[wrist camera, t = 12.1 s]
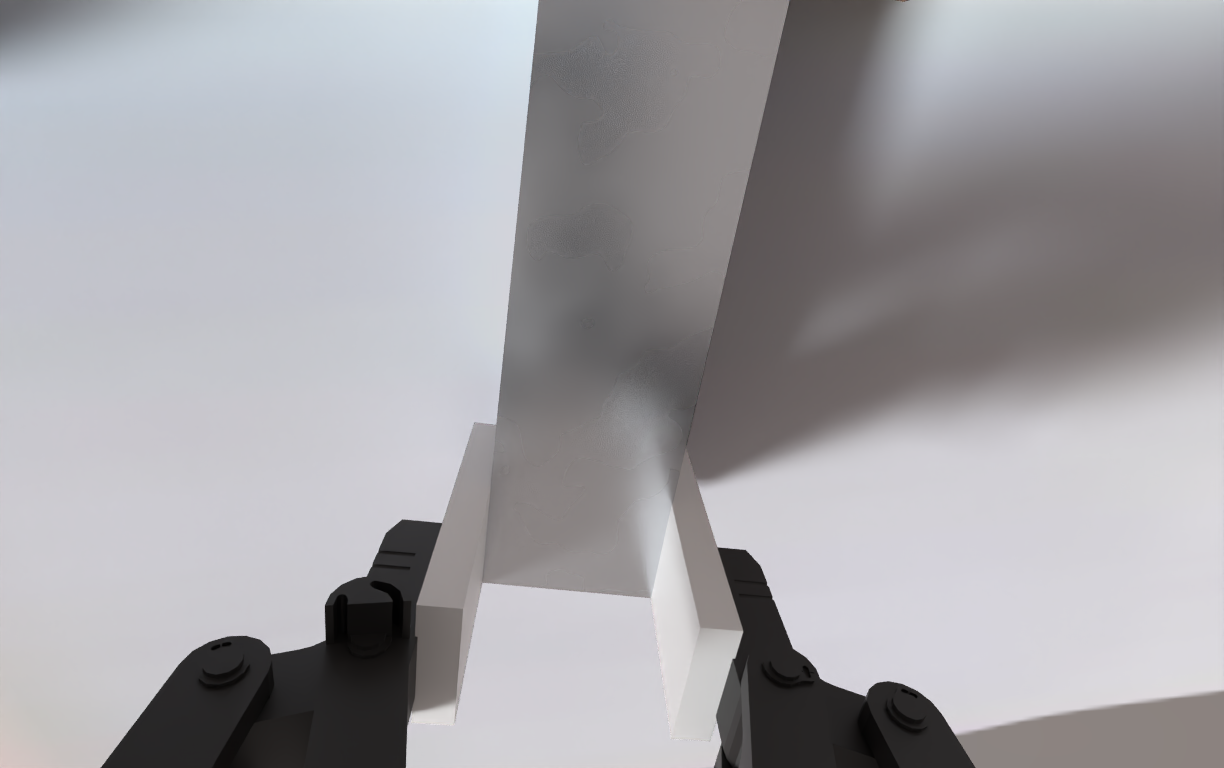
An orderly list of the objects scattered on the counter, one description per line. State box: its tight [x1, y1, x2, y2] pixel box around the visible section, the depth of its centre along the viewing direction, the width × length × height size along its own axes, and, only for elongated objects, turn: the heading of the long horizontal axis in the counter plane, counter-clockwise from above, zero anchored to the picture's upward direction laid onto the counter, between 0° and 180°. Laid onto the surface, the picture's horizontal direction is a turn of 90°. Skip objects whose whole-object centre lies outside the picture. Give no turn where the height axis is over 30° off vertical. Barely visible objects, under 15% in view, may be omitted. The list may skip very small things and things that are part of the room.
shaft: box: [482, 0, 790, 598], centre depth 14 cm, size 15×4×4 cm, turn 171°
